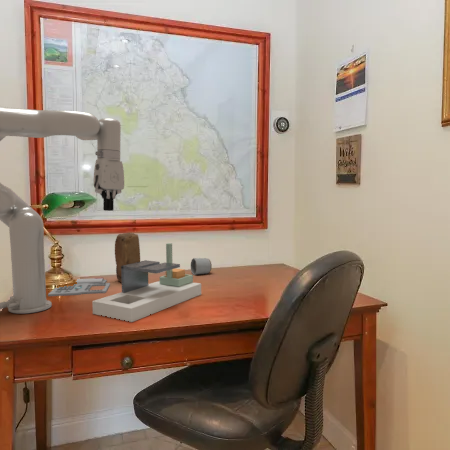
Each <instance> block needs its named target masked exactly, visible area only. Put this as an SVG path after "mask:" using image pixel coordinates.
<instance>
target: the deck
mask: <svg viewBox="0 0 450 450" xmlns="http://www.w3.org/2000/svg"><path fill="white" fill-rule="evenodd" d="M198 296H202V283H199V282H194V281H193V282H191V283H188V284H185V285H182V286H179V287H178V286H171V285H164V284H160V280H158V281H155V282H151V283H148V286H146V287H142V288H139V289H136V290H133V291H129V292H126V293H122V291H121V292H117V293H114V294H112V295H107V296H105V297H102V298H98V299H95V300H92V315H97V316H101V315H102V316H101V317H105V316H107V317H106V318H110V317H111V318H110V319H114V318H116V319H115V320H119V319H120V321H124V320H125V322H128V321H129V323H133V322H136V321H138V320H141V319H143V318H146V317H148V316H150V314H151V315H153V314H156V313H158V312H161V311H163V310H165V309H167V308H168V309H169V308H171V307H173V306H177V305H179V304H181V303H184V302H187V301H188V300H192V299H193V298H196V297H198Z"/></svg>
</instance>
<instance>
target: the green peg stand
mask: <svg viewBox="0 0 450 450" xmlns="http://www.w3.org/2000/svg"><path fill="white" fill-rule="evenodd" d="M165 250H166V251H165V253H166V254H165V256H166V259H165V260H166V262H165V263H173V243H169V242H167V243H165ZM159 281H160V284H164V285H171V286H178V287H179V286H182V285H185V284H188V283H191V282H194V275H193V274H189V273H188V274H186V273H185V277H183V278H180V279H175V278H173V269H171V270H168V271H167V277H166V274H165V275H162V276H159Z"/></svg>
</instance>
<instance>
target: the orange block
mask: <svg viewBox="0 0 450 450" xmlns="http://www.w3.org/2000/svg"><path fill="white" fill-rule="evenodd" d="M164 272H165V273H164V274H165V275H166V277H167V271H164ZM185 274H186V269H183V268H175V269H173V278H175V279H180V278H183V277H185Z"/></svg>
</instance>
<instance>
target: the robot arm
mask: <svg viewBox="0 0 450 450" xmlns="http://www.w3.org/2000/svg"><path fill="white" fill-rule="evenodd" d="M121 128H122V127H121V122H120V121H119V120H118V119H114V118H100V119H98V118H97V117H96V116H95V115H94V114H91V113H89V112H82V111H73V110H72V111H71V110H47V109H45V110H43V109H41V110H39V109H27V108H19V107H18V108H16V107H8V106H7V107H6V106H0V142H1V141H2V140H4V139H5V138H6V137H21V138H22V137H23V138H36V139H39V138H40V139H43V138H48V137H52V136H68V137H69V136H71V137H72V136H74V137H76V139H79V140H82V141H96V142H97V145H96V146H97V147H96V149H97V151H95V153H94V154H95V156H96V157H97V158H96V160H95V162H94V169H93V188H94V193H96V194H99V195H100V196H101V199H103V205H102V206H103V207H102V209H103V211H105V212H106V211H107V212H108V211H109V212H110V211H112V212H113V211H114V200H115V199H116V196H117V195H119V194H121V193H122V190H124V189H125V171H124V166H123V165H124V164H123V161H121ZM0 221H1V222H2V223H3V224H5V226H7V227H8V230H9V243H10V261H11V262H10V263H11V276H12V277H11V278H12V296H9V299H8V300H6V301H1V302H0V310H2V309H6V308H7V309H8V312H10V313H12V314H19V315H20V314H33V313H34V314H35V313H38V312H42V311H45V310H46V311H47V310H48V309H50V308H51V307H52V306H53V305H52V302H51V300H49V299H48V300H47V285H46V264H45V262H46V261H45V241H44V238H45V236H44V235H45V233H44V232H45V229H44V227H45V226H44V220H43V219H42V217H41V215H40V214H39V213H38V212H37V211H36V210H35V209H33V207H31V206H30V205H29V204H28V203H27V202H26V201H24V199H22V197H20V196H19V195H18V194H17V193H16V192H15V191H13V190H12V188H9V187H7V186H6V185H4V184H2V182H0Z"/></svg>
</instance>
